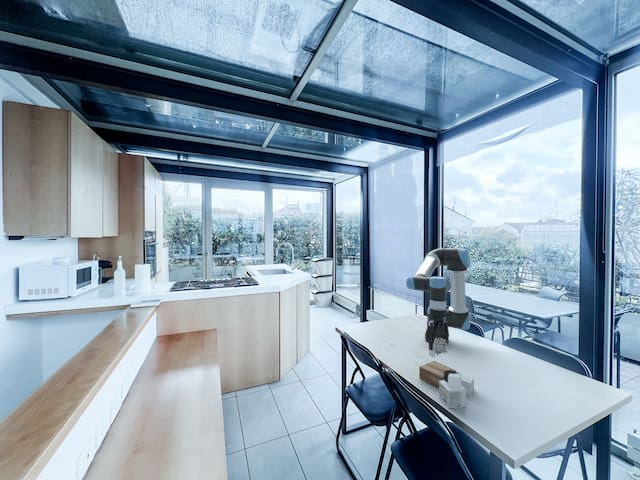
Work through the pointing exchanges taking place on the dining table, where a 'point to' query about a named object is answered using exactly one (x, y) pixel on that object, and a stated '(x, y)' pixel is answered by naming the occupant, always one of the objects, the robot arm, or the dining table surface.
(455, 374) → the container
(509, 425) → the dining table surface
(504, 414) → the dining table surface
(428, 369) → the base block
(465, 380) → the grey block
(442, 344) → the grey spiky ball
